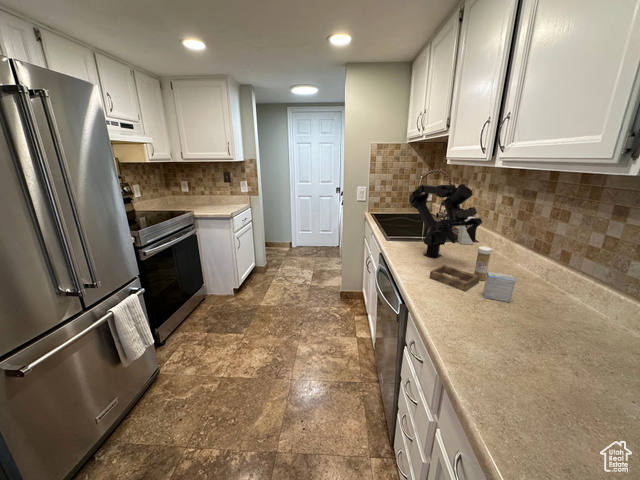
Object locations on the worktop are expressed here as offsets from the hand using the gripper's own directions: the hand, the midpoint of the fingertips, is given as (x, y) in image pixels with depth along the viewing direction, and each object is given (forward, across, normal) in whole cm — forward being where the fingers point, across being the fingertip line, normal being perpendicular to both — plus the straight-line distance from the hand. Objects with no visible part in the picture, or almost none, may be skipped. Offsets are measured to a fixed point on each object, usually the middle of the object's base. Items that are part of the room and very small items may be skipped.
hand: (464, 242), depth 111 cm
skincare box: (-12, +30, +37) cm, 49 cm away
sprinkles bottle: (+15, +4, +3) cm, 16 cm away
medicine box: (+25, -1, -8) cm, 26 cm away
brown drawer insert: (+15, -8, +3) cm, 17 cm away
